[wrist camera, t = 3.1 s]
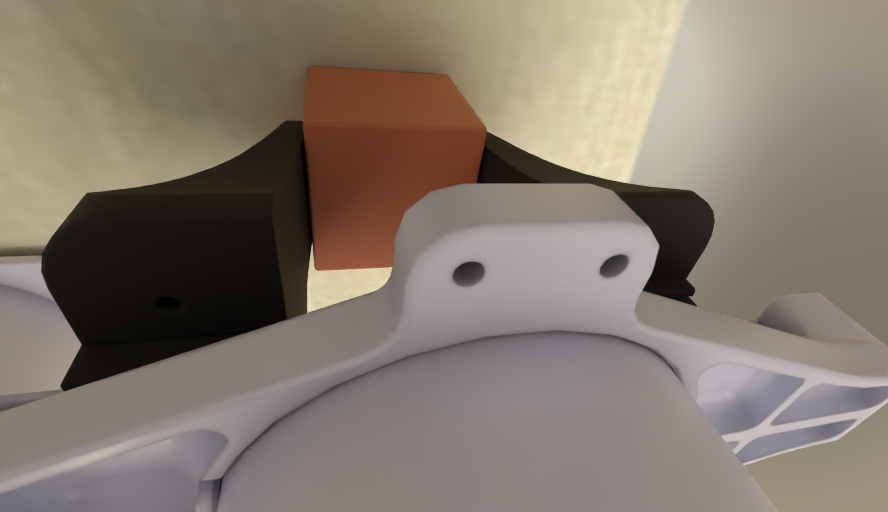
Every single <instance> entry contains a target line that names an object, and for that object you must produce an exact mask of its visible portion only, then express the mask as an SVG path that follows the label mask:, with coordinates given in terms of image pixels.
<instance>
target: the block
mask: <svg viewBox="0 0 888 512" xmlns="http://www.w3.org/2000/svg"><path fill="white" fill-rule="evenodd" d="M303 132H304V144H305V157H306V169H307V181H308V194H309V206H310V219H311V231H312V243H313V256H314V267H315V269H316V270H318V271H322V270H342V269H363V268H384V267H393V260H394V245H395V237H396V234H397V232H398V229H399V226H400V224H401V221H402V219H403V216H404V214H405V212H406V211H407V210H408V209H409V208H411V207H412V206H413V205H414V204H416V203H417V202H418V201H419V200H421V199H422V198H423V197H424V196H425V195H427V194H428V193H429V192H430V191H434V190H438V189H443V188H447V187H451V186H455V185H459V184H477V180H478V175H479V170H480V165H481V160H482V155H483V150H484V144H485V139H486V134H487V129H486V127H485V126H484V124H483V123H482V122H481V120H480V119H479V117H478V116H477V115H476V113H475V112H474V111H473V109H472V108H471V106H470V105H469V104H468V102H467V101H466V100H465V98H464V97H463V96H462V94H461V93H460V91H459V90H458V89H457V87H456V86H455V85H454V83H453V82H452V80H451V79H450V78H449V76H447V75H439V74H423V73H408V72H393V71H377V70H362V69H347V68H331V67H316V66H309V67H308V68H307V74H306V88H305V103H304V117H303Z"/></svg>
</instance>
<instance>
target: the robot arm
mask: <svg viewBox="0 0 888 512" xmlns="http://www.w3.org/2000/svg"><path fill="white" fill-rule="evenodd" d="M714 222H715V221H714V214H713V210H712V209H711V207H710V206H709V204H708V203H707V202H706V201H705V200H704V199H702V198H701V197H700V196H698V195H697V194H696V193H694V192H693V191H689V190H680V189H669V188H658V187H648V186H640V185H634V184H628V183H622V182H617V181H612V180H607V179H603V178H599V177H595V176H591V175H587V174H583V173H580V172H576V171H573V170H570V169H567V168H564V167H561V166H559V165H556V164H553V163H551V162H548V161H546V160H543V159H541V158H539V157H537V156H534V155H532V154H530V153H528V152H526V151H524V150H522V149H520V148H518V147H516V146H514V145H512V144H510V143H508V142H506V141H504V140H502V139H500V138H499V137H497V136H495V135H493V134H491V133H489V132H487V134H486V139H485V144H484V150H483V155H482V160H481V165H480V170H479V175H478V180H477V184H459V185H455V186H451V187H447V188H443V189H438V190H434V191H430V192H429V193H428V194H427V195H425V196H424V197H423V198H422V199H421V200H419V201H418V202H417V203H416V204H414V205H413V206H412V207H411V208H409V209H408V210H407V211H406V212H405V214H404V216H403V219H402V221H401V224H400V226H399V229H398V232H397V234H396V237H395V245H394V260H393V268H392V272H391V276H390V278H389V280H388V281H387V283H386V284H385V285H384V286H383V287H381V288H380V289H378V290H377V291H374V292H371V293H368V294H365V295H362V296H359V297H356V298H353V299H349V300H346V301H343V302H340V303H337V304H334V305H331V306H328V307H325V308H322V309H318V310H315V311H312V312H309V313H307V279H308V269H309V261H310V254H311V246H312V231H311V219H310V206H309V194H308V181H307V169H306V157H305V144H304V132H303V121H290V120H286V121H285V122H283V123H282V124H281V125H280V126H279V127H277V128H276V129H275V130H274V131H273V132H271V133H270V134H269V135H268V136H266V137H265V138H264V139H263V140H261V141H260V142H258V143H257V144H255V145H254V146H252V147H251V148H249V149H248V150H246V151H245V152H243V153H242V154H240V155H238V156H236V157H235V158H233V159H231V160H229V161H227V162H224V163H222V164H220V165H218V166H216V167H213V168H210V169H207V170H204V171H201V172H199V173H196V174H193V175H190V176H187V177H183V178H180V179H176V180H171V181H167V182H163V183H158V184H153V185H148V186H142V187H136V188H127V189H119V190H111V191H102V192H92V193H87V194H86V195H85V196H84V197H83V198H82V199H81V201H80V202H79V203H78V204H77V206H76V207H75V208H74V209H73V211H72V212H71V213H70V215H69V216H68V217H67V218H66V220H65V221H64V222H63V223H62V225H61V226H60V227H59V228H58V230H57V231H56V232H55V233H54V235H53V236H52V237H51V239H50V241H49V242H48V244H47V246H46V248H45V249H44V251H43V253H42V255H37V256H8V257H0V512H778V511H777V510H776V508H775V507H774V506H773V504H772V503H771V502H770V501H769V499H768V498H767V496H766V495H765V494H764V492H763V491H762V490H761V488H760V487H759V486H758V484H757V483H756V482H755V480H754V479H753V478H752V476H751V475H750V474H749V472H748V471H747V470H746V468H745V467H744V465H747V464H750V463H753V462H756V461H760V460H762V459H766V458H769V457H772V456H775V455H779V454H782V453H786V452H790V451H793V450H797V449H800V448H804V447H808V446H812V445H817V444H821V443H826V442H830V441H835V440H838V439H839V438H841V437H842V436H843V435H845V434H846V433H847V432H849V431H850V430H851V429H853V428H854V427H855V426H857V425H858V424H859V423H861V422H862V421H863V420H865V419H866V418H867V417H869V416H870V415H871V414H873V413H874V412H875V411H877V410H878V409H879V408H881V407H882V406H883V405H884V404H886V403H887V402H888V347H887V346H886V345H884V344H883V343H882V342H881V341H879V340H878V339H877V338H875V337H874V336H873V335H871V334H870V333H869V332H868V331H867V330H865V329H864V328H863V327H861V326H860V325H859V324H858V323H856V322H855V321H854V320H853V319H851V318H850V317H849V316H847V315H846V314H845V313H844V312H842V311H841V310H840V309H839V308H837V307H836V306H835V305H834V304H832V303H831V302H830V301H828V300H827V299H826V298H825V297H823V296H822V295H821V294H820V293H816V292H815V293H802V294H790V295H782V296H779V297H777V298H775V299H773V300H772V301H770V302H769V303H768V304H767V305H766V306H765V307H764V308H763V310H762V311H761V312H760V314H759V315H758V317H757V320H751V321H745V320H741V319H738V318H735V317H731V316H728V315H724V314H721V313H717V312H714V311H711V310H707V309H704V308H700V307H698V306H697V305H696V304H695V303H694V302H693V301H692V300H691V299H690V298H689V297H688V296H693V294H694V293H695V288H694V287H693V286H692V285H691V284H690V283H689V282H688V281H687V280H686V278H687V276H688V275H689V273H690V272H691V270H692V269H693V267H694V265H695V264H696V262H697V260H698V259H699V257H700V256H701V254H702V253H703V251H704V250H705V248H706V246H707V244H708V242H709V240H710V238H711V236H712V231H713V227H714Z"/></svg>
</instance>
